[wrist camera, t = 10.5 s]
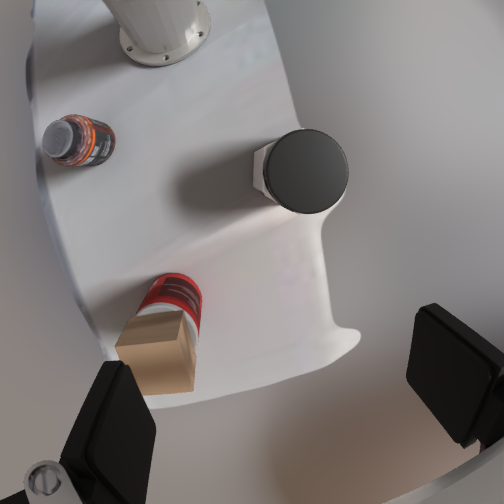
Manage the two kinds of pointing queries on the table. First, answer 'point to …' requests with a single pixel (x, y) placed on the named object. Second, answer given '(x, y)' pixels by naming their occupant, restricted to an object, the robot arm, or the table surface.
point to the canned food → (175, 300)
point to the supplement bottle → (78, 141)
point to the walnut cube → (159, 352)
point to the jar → (301, 171)
